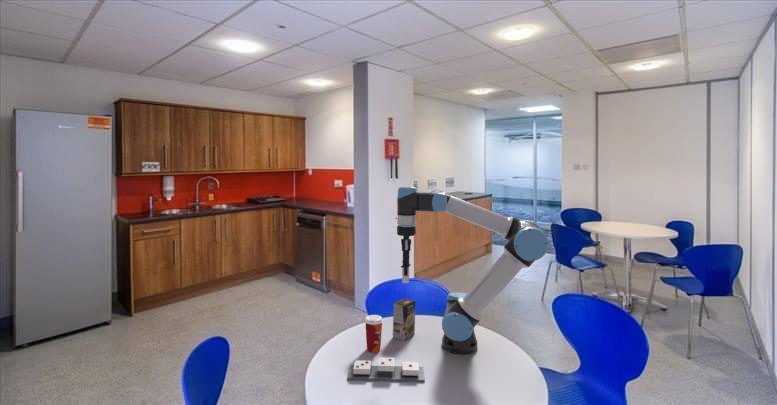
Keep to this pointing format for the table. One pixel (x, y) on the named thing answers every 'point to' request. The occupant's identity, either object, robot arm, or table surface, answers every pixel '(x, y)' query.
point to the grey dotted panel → (386, 375)
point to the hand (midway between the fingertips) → (405, 282)
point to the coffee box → (404, 319)
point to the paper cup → (373, 332)
